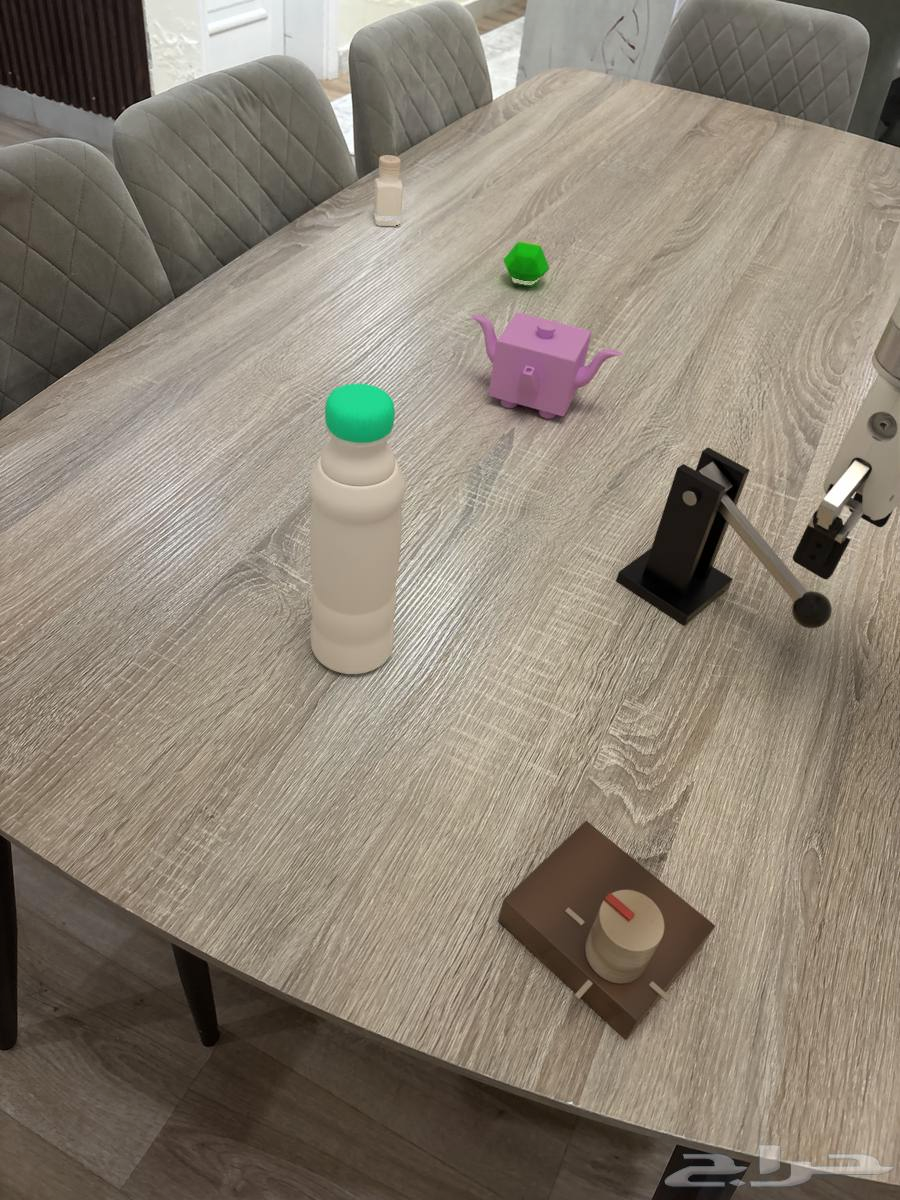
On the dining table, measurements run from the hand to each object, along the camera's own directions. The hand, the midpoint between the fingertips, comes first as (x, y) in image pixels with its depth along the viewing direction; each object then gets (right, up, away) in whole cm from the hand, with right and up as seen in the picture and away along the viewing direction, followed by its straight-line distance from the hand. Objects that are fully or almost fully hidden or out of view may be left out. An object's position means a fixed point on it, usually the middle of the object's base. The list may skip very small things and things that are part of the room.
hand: (839, 542), depth 76 cm
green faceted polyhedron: (-21, +42, +60) cm, 76 cm away
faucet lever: (-5, -1, +7) cm, 9 cm away
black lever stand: (-10, -3, +15) cm, 18 cm away
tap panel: (-21, -27, -12) cm, 37 cm away
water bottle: (-40, -9, +5) cm, 41 cm away
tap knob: (-21, -27, -16) cm, 38 cm away
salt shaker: (-42, +54, +70) cm, 98 cm away
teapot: (-22, +19, +36) cm, 47 cm away
